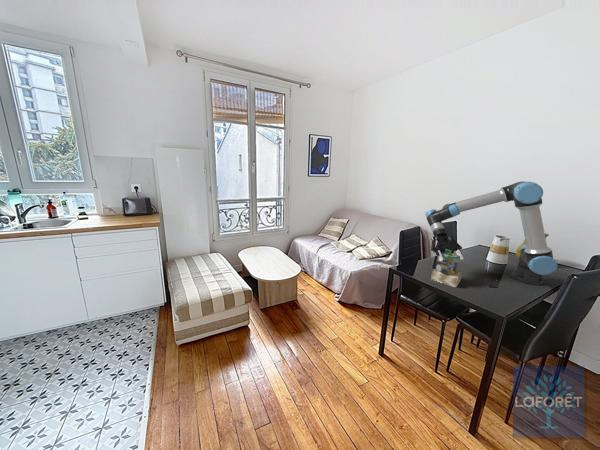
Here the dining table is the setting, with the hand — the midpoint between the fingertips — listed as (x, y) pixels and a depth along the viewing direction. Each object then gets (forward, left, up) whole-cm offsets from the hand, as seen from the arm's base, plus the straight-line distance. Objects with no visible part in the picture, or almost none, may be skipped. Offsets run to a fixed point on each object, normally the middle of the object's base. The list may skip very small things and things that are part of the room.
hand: (451, 260), depth 149 cm
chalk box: (+2, -2, -9) cm, 9 cm away
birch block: (+1, -2, -15) cm, 15 cm away
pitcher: (-59, -70, -14) cm, 92 cm away
